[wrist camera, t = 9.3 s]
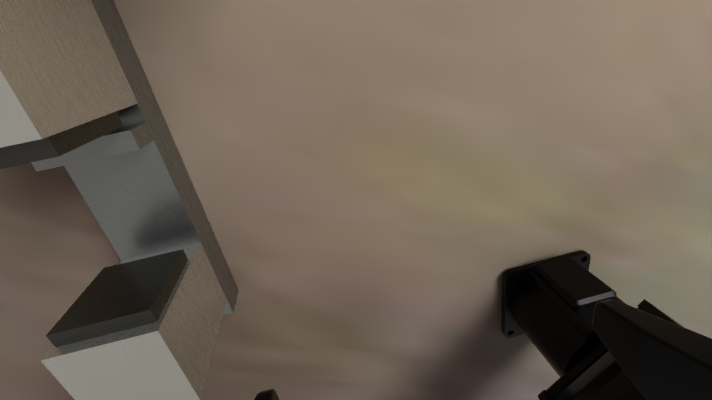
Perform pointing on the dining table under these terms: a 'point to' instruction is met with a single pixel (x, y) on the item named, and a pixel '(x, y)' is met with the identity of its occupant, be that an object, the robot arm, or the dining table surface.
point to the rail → (141, 259)
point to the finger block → (56, 79)
